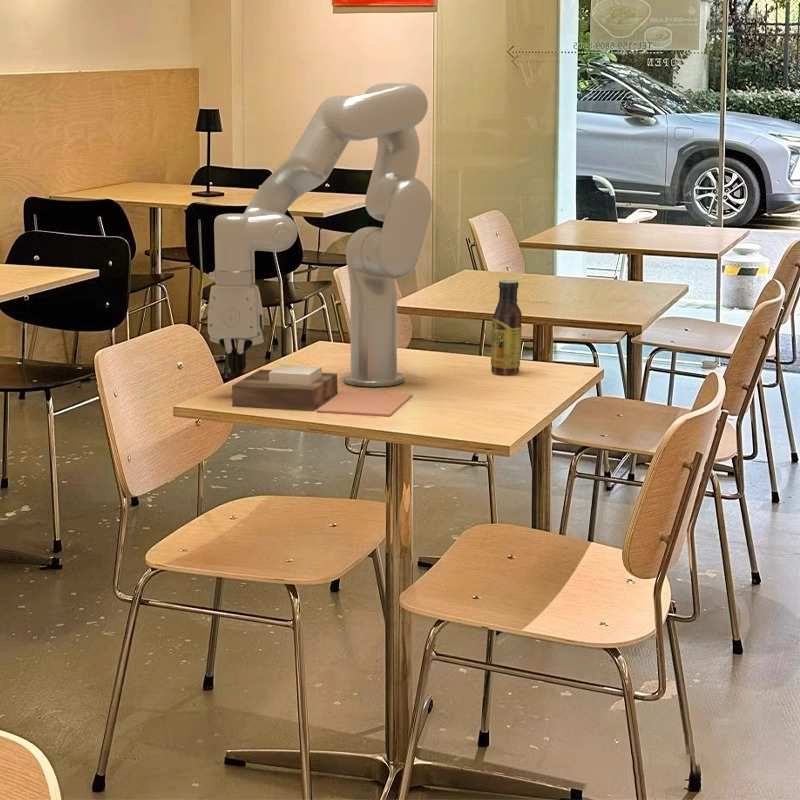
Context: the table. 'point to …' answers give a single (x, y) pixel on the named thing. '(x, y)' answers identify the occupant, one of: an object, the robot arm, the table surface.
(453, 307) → the table surface
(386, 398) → the mat
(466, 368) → the table surface
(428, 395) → the table surface
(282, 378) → the cream block
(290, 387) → the deck
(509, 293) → the sauce bottle
